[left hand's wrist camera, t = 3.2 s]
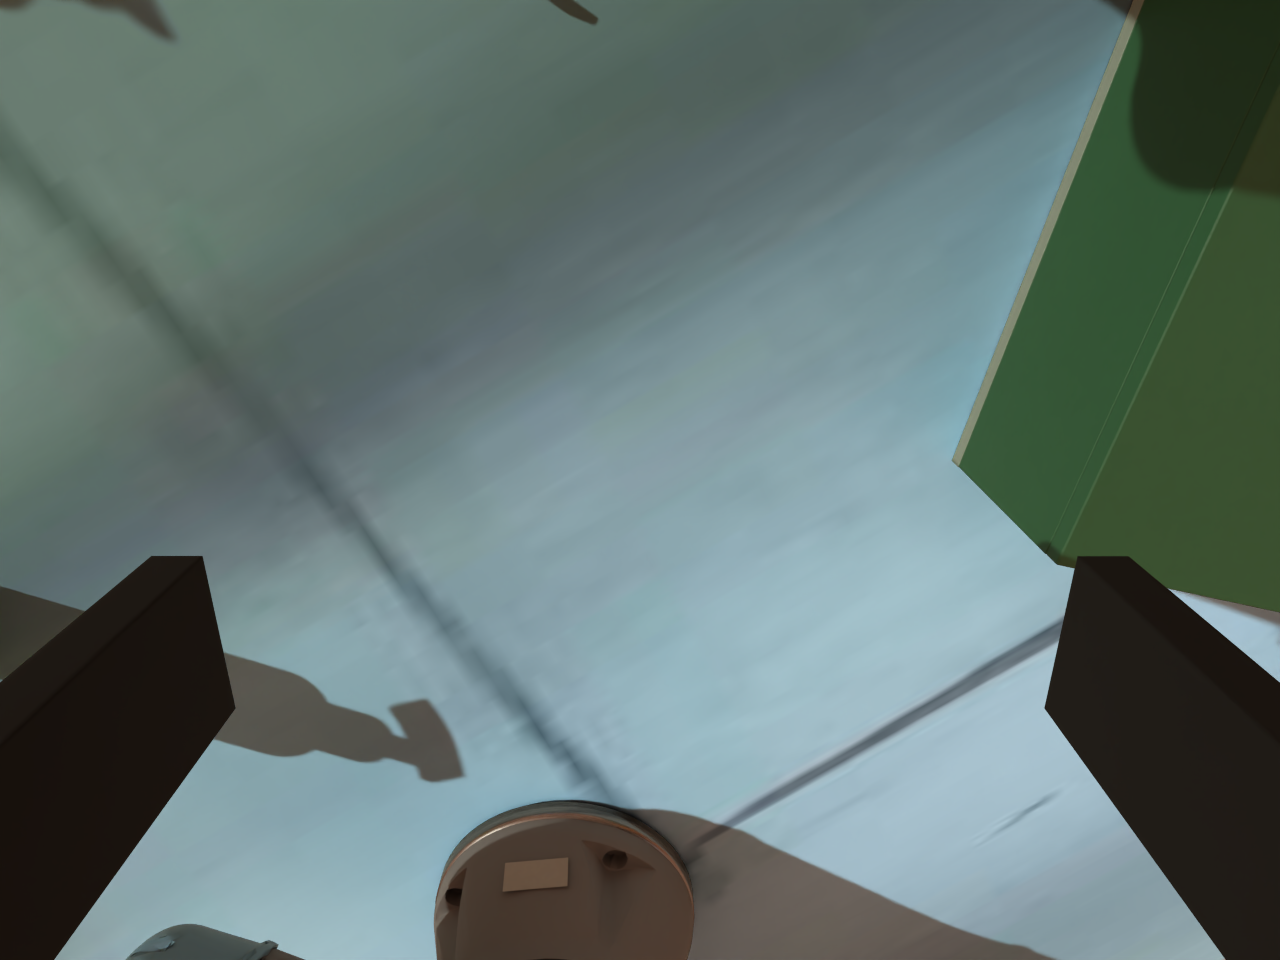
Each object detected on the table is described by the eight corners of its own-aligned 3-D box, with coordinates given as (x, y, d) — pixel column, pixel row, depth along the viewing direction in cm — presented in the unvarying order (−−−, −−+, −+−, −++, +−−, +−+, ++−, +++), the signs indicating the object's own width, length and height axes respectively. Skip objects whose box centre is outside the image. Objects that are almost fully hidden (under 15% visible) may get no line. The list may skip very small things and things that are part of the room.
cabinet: (1140, -19, 33) (1362, -92, 23) (1382, 48, 33) (1699, 7, 23) (951, 460, 40) (1055, 565, 30) (1154, 505, 41) (1320, 622, 31)
